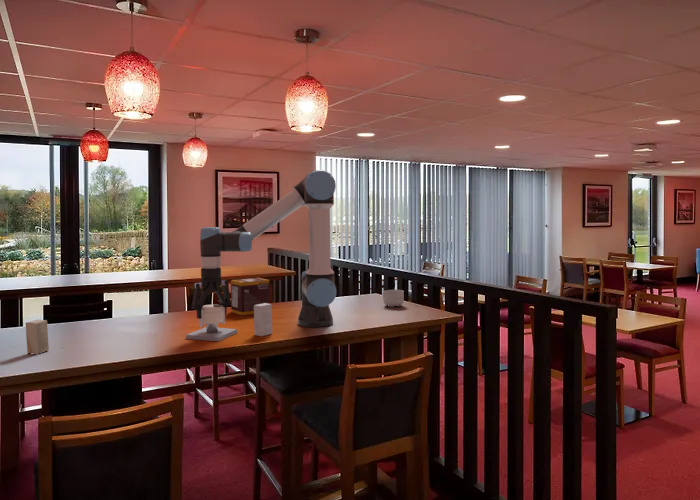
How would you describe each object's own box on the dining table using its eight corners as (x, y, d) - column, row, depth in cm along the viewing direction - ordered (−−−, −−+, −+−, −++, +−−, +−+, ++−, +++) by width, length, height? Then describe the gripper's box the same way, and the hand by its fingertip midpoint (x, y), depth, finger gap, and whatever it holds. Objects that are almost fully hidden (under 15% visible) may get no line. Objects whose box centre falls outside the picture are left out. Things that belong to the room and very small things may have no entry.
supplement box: (270, 311, 251) (269, 279, 250) (241, 315, 242) (240, 282, 240) (259, 308, 259) (258, 277, 258) (230, 312, 249) (230, 280, 248)
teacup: (397, 309, 258) (397, 293, 257) (378, 306, 264) (378, 291, 263) (410, 304, 269) (410, 289, 269) (391, 302, 275) (391, 287, 275)
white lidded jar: (197, 323, 200) (197, 306, 199) (207, 319, 208) (207, 302, 207) (216, 324, 198) (216, 307, 198) (225, 320, 206) (225, 303, 205)
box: (39, 350, 182) (38, 319, 181) (49, 351, 181) (48, 319, 180) (26, 354, 177) (24, 322, 176) (36, 355, 176) (34, 323, 175)
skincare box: (265, 332, 209) (265, 302, 208) (272, 333, 207) (272, 304, 206) (253, 334, 205) (253, 304, 204) (260, 336, 202) (260, 306, 201)
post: (220, 331, 205) (219, 310, 204) (214, 333, 200) (213, 313, 200) (210, 330, 206) (209, 310, 205) (204, 332, 202) (203, 312, 201)
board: (237, 332, 208) (237, 329, 208) (218, 341, 195) (218, 337, 194) (206, 330, 212) (206, 326, 212) (186, 338, 199) (186, 334, 198)
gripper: (229, 264, 211) (230, 319, 213) (180, 268, 197) (182, 327, 198) (239, 265, 206) (240, 322, 207) (189, 270, 191) (191, 330, 193)
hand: (212, 324), depth 203 cm, fingers closed on white lidded jar, 8 cm apart
